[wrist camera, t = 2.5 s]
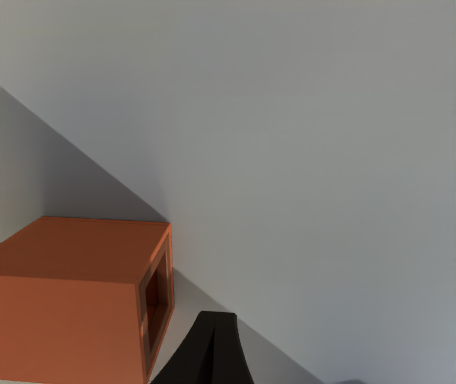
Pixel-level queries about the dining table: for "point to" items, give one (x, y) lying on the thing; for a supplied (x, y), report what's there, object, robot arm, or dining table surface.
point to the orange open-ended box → (84, 300)
